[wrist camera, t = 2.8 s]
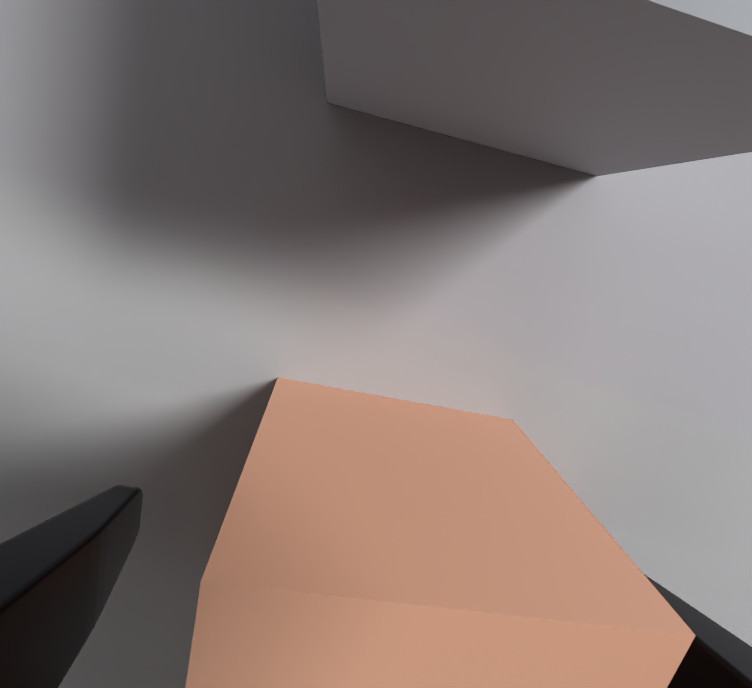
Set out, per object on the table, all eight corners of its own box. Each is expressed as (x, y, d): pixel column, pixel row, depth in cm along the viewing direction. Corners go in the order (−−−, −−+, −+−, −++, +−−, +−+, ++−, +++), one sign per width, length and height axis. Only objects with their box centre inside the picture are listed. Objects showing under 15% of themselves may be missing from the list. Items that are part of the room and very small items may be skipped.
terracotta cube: (449, 599, 11) (540, 918, 6) (242, 576, 10) (151, 918, 5) (511, 418, 9) (695, 635, 4) (277, 376, 9) (201, 581, 4)
